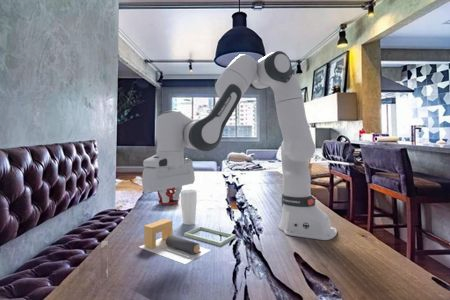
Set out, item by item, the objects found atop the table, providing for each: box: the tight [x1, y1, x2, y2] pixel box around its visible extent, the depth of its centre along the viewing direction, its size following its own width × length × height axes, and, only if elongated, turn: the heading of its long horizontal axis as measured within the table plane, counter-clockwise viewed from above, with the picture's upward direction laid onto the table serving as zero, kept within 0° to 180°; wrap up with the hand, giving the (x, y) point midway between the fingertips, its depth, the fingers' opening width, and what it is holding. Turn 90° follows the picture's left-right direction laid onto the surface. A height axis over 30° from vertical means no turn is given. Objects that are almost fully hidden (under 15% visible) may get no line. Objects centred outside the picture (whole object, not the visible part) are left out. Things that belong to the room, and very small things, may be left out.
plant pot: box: [156, 187, 180, 206], centre depth 156 cm, size 13×13×12 cm
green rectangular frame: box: [183, 225, 236, 247], centre depth 99 cm, size 17×9×2 cm, turn 54°
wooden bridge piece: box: [143, 218, 174, 248], centre depth 93 cm, size 4×9×7 cm, turn 144°
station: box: [138, 237, 212, 265], centre depth 89 cm, size 22×12×2 cm, turn 54°
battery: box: [166, 235, 201, 254], centre depth 88 cm, size 13×4×4 cm, turn 54°
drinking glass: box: [180, 189, 198, 226], centre depth 116 cm, size 7×7×15 cm
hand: (171, 201), depth 89 cm, fingers open, 3 cm apart
